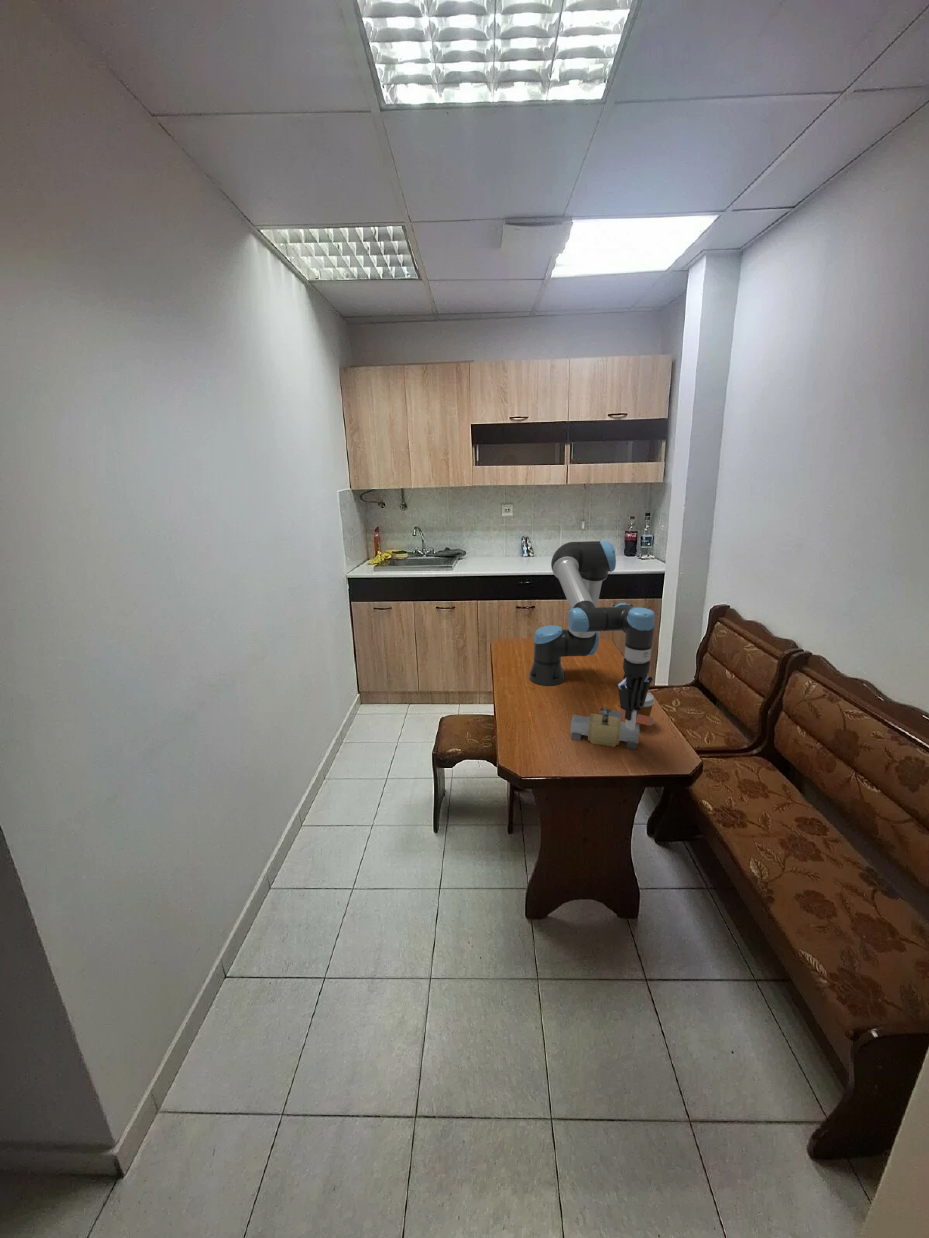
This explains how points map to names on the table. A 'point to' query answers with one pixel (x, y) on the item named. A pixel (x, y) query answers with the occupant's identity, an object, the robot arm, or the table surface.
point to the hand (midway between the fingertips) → (630, 727)
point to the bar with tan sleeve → (604, 730)
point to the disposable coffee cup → (646, 709)
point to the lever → (618, 714)
